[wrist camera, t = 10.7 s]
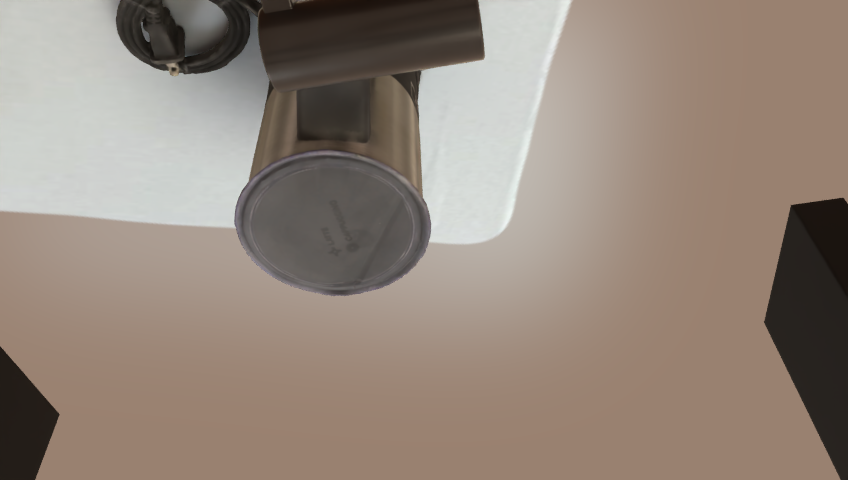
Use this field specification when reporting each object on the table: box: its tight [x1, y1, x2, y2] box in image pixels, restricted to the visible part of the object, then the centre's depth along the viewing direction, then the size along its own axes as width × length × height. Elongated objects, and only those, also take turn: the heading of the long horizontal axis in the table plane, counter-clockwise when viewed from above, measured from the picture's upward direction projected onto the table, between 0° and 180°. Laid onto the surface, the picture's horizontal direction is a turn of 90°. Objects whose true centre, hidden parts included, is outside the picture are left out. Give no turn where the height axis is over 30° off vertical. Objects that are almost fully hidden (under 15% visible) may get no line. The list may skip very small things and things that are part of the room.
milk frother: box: [116, 0, 431, 296], centre depth 39 cm, size 14×16×15 cm
